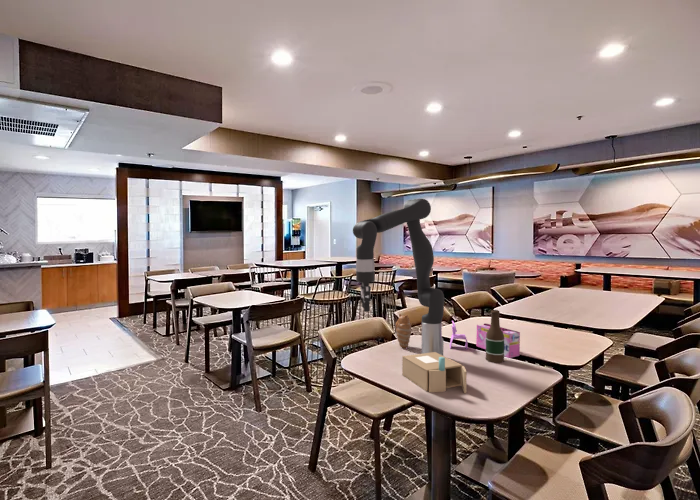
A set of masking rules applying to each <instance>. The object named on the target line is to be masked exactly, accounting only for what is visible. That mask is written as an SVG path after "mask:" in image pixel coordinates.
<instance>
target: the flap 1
mask: <svg viewBox="0 0 700 500" xmlns="http://www.w3.org/2000/svg"><path fill="white" fill-rule="evenodd" d="M446 390H447V388H446V370H445V358H444V357H439V370H429V391H428V392H429V393H441V392H442V393H443V392H446Z"/></svg>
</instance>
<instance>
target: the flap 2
mask: <svg viewBox="0 0 700 500" xmlns="http://www.w3.org/2000/svg"><path fill="white" fill-rule="evenodd" d="M461 389H462V391H463V393H464V394H467V369H466V367H465V365H462V386H461Z"/></svg>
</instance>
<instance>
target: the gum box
mask: <svg viewBox="0 0 700 500" xmlns="http://www.w3.org/2000/svg"><path fill="white" fill-rule="evenodd" d="M490 325H491V323H483V324H476V338H475V339H476V340H475V341H476V344H475V345H476V347H478V348H481V349H483V350H486V334H487V331H488V330H489V328H490ZM500 329H501V330H502V332H503V334H504V358H505V357H506V358H508V359H510V358H511V359H512V358H515V357H519V356H520V353H521V352H520V345H521V343H520V341H521V332H520V331H517V330H512V329H509V328H506V327H501V326H500Z"/></svg>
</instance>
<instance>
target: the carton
mask: <svg viewBox="0 0 700 500" xmlns="http://www.w3.org/2000/svg"><path fill="white" fill-rule="evenodd" d="M439 357H444V358H445V370H446V389H450V388H454V387H462V366H463V365H462V364H461V363H459V362H456V361H455V360H453V359H450V358H448V357H447V356H445V355H443V356H442V355H440V354H438V353H436V352H431V353H423V354H422V353H418V354H409V355H402V360H401V361H402V362H401V363H402V364H401V365H402V367H401V369H402V374H401V376H403V378H406V379H407V380H408V381H411V383H413V384H415V385H416V386H417V387H419V388H420V389H422V390H424V392H426V393H427V392H429V370H439Z"/></svg>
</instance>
